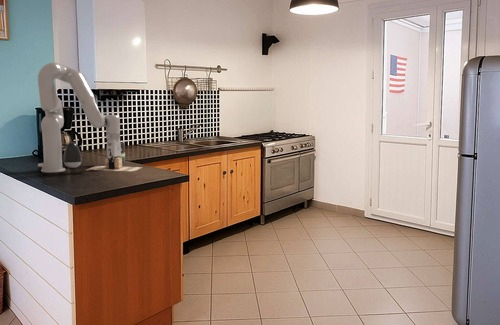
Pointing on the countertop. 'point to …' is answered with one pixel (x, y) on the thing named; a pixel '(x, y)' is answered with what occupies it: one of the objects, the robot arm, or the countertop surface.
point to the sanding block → (116, 163)
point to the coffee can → (122, 152)
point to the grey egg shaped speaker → (72, 155)
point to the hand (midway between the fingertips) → (113, 167)
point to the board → (115, 169)
